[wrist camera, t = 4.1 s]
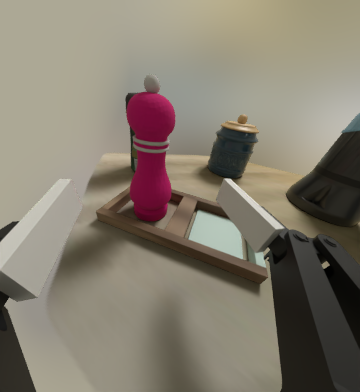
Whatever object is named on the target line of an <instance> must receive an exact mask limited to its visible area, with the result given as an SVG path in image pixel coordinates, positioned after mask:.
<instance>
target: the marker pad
mask: <svg viewBox="0 0 360 392" xmlns="http://www.w3.org/2000/svg"><path fill="white" fill-rule="evenodd" d="M188 239H189V240H192V241H194V242H197V243H200V244H203V245H205V246H208V247H211V248H213V249H216V250H219V251H221V252H224V253H227V254H230V255H232V256H235V257H238V258H240V259H243V254H242V241H241V233H240V232H239V230H238V229H237V227H236V226H235V225H234V223H233V222H232V221H231V220H229V219H226V218H223V217H220V216H217V215H214V214H211V213H208V212H204V211H201V210H198V212H197V215H196V218H195V221H194V224H193V227H192V229H191V232H190V235H189V238H188Z"/></svg>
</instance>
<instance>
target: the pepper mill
mask: <svg viewBox="0 0 360 392" xmlns="http://www.w3.org/2000/svg"><path fill="white" fill-rule="evenodd" d="M144 86H145V89H146V91H147V92H141V93H138V94H136V95H134V96H133V97H132V98H131V99H130V101H129V103H128V106H127V120H128V123H129V125H130V127H131V128H132V129H133V131H134V132H135V134H136V135H134V136H133V140H134V143H133V146H134V148H135V149H137V156H138V159H137V168H136V171H135V174H134V176H133V179H132V181H131V185H130V198H131V200H132V201H133V202H134V212H135V215H136V216H137V217H138V218H139V219H141V220H144V221H157V220H159V219H161V218H163V217H164V216H165V215H166V213H167V206H168V204H167V203H168V202H169V200H170V198H171V184H170V181H169V178H168V176H167V173H166V168H165V156H166V151H168V150H169V142H170V141H169V139H168V138H167V137H168V135H169V134H170V133H171V132H172V131H173V129H174V126H175V112H174V109H173V106H172V105H171V103H170V102H169V101H168V100H167V99H166V98H165V97H163V96H161V95H159V94H157V93H158V92H159V89H160V83H159V80H158V78H157V77H156V76H155V75H152V74H149V75H147V76H146V78H145V80H144Z"/></svg>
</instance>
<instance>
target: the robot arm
mask: <svg viewBox="0 0 360 392" xmlns="http://www.w3.org/2000/svg"><path fill="white" fill-rule="evenodd" d="M286 195H287V197H288V199H289V200H290V201H291V202H292V203H294V204H295V205H296V206H297V207H299V208H300V209H302V210H304V211H305V212H307V213H309V214H311V215H313V216H315V217H317V218H319V219H322V220H324V221H327V222H329V223H333V224H336V225H340V226H347V227H351V226H355V225H356V224H357V223H359V222H360V113H359V114H358V115H357V116H356V117H355V118H354V119H353V120H352V122H351V123H350V124H349V125H348V126H347V127H346V129H345V130H343V131H342V134H341V136H340V137H339V138H338V139H337V141H336V142H335V143H334V144H333V146H332V147H331V148H330V149H329V151H328V152H327V153H326V154H325V155H324V157H323V158H322V159H321V161H320V162H319V163H318V164H317V166H316V167H315V168H314V169H313V170H312V171H311V172H310V173H309V174H308V175H306V176H305V177H303V178H302V179H301V180H299V181H298V182H296V183H295V184H294V185H292V186H291V187H290V188H289V190H288V191H287V193H286ZM216 201H217V202H218V203H219V205H220V206H221V207H222V209H223V210H224V211H225V213H226V214H227V215H228V217H229V218H230V219H231V221H232V222H233V223H234V225H235V226H236V227H237V229H238V230H239V232H240V233H241V234H242V236H243V237H244V238H245V240H246V241H247V242H248V244H249V245H250V246H251V248H252V249H253V250H254V252H255V253H259V252H264V251H265V250H266V248H267V247H269V249H270V251H269V252H268V253H267V254H266V255H265V256H264V260H265V259H266V258H267V257H269V259H268V260H267V261H269V263H270V272H271V281H272V290H273V300H274V309H275V318H276V327H277V336H278V346H279V355H280V364H281V373H282V389H281V391H280V392H360V265H359V264H358V263H357V262H356V261H355V260H354V259H353V258H352V257H351V256H350V254H349V253H348V252H347V251H346V250H345V249H344V248H343V247H342V246H341V245H340V244H339V243H338V242H337V241H335V240H334V239H333V238H331V237H329V236H326V235H323V234H319V235H317V236H316V237H315V238H308V237H307V236H305V235H304V234H303V233H301V232H299V231H296V230H289V229H287V228H286V227H285V226H284V225H283V224H282V223H281V222H279V221H278V220H277V219H276V218H275V217H274V216H272V214H270V213H269V212H268V211H267V210H266V209H265V208H264V207H262V206H260V205H259V204H258V203H256V202H255V201H254V200H253V199H252V198H251V197H250V196H249V195H248V194H246V193H245V192H244V191H243V190H242V189H241V188H240V187H239V186H238V185H237V184H235V183H234V182H233V181H232V180H231V179H223V182H222V184H221V187H220V190H219V192H218V195H217V198H216ZM82 207H83V206H82V204H81V201H80V199H79V196H78V194H77V191H76V188H75V186H74V183H73V181H72V179H59V180H58V181H57V182H56V183H55V184H54V186H52V188H51V189H50V190H49V191H48V192H47V193H46V194H45V195H44V196H43V197H42V198H41V199H40V200H39V202H37V204H36V205H35V206H34V207H33V208H32V209H31V210H30V211H29V212H28V213H27V214H26V215H25V216H24V217H23V218H22V219H21V221H17V222H12V223H10V224H9V225H7V226H5V227H4V228H2V229H1V230H0V392H36V390H35V387H34V384H33V381H32V379H31V376H30V373H29V370H28V367H27V364H26V362H25V358H24V356H23V353H22V350H21V347H20V344H19V342H18V338H17V336H16V333H15V330H14V327H13V324H12V322H11V318H10V316H9V313H8V310H7V309H6V308H5V307H4V305H5V303H6V302H7V300H8V298H9V297H10V298H11V299H13V300H15V301H17V302H18V301H23V300H28V299H33V298H37V297H38V296H39V294H40V292H41V290H42V288H43V286H44V284H45V282H46V280H47V278H48V276H49V274H50V272H51V270H52V268H53V266H54V264H55V262H56V260H57V258H58V256H59V254H60V252H61V250H62V248H63V246H64V244H65V242H66V240H67V238H68V236H69V234H70V232H71V230H72V228H73V226H74V224H75V222H76V220H77V218H78V216H79V214H80V211H81V209H82ZM326 261H327V262H328V263H329V264H330V266H328V267H327V268H325V269H323V268H322V265H321V264H323V263H324V262H326Z"/></svg>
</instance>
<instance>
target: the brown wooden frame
mask: <svg viewBox="0 0 360 392" xmlns="http://www.w3.org/2000/svg"><path fill="white" fill-rule="evenodd" d="M130 200H131V198H130V187H128V188H127V189H126V190H124V191H123V192H122V193H120V194H119V195H118V196H116V197H115V198H114V199H112V200H111V201H110V202H108V203H107V204H105V205H104V206H103V207H101V208H100V209H99V210H97V211H96V214H97V217H98V220H99V221H102V222H104V223H107V224H109V225H112V226H114V227H117V228H119V229H122V230H124V231H127V232H130V233H132V234H135V235H137V236H140V237H142V238H145V239H147V240H150V241H152V242H155V243H157V244H160V245H163V246H165V247H168V248H170V249H173V250H175V251H178V252H180V253H183V254H185V255H188V256H190V257H193V258H196V259H198V260H201V261H203V262H206V263H208V264H211V265H213V266H216V267H218V268H221V269H223V270H226V271H228V272H231V273H234V274H236V275H239V276H241V277H244V278H246V279H249V280H251V281H254V282H256V283H259V284H261V283H262V282H263V281H264V280H266V279H267V278H268V274H267V269H266V265H265V260H264V256H263V252H259V253H255V252H254V250H253V249H252V248H251V246H250V245H249V244H248V242H247V250H248V259H249V261H246V260H243V259H240V258H238V257H235V256H232V255H230V254H227V253H224V252H221V251H219V250H216V249H213V248H211V247H208V246H205V245H203V244H200V243H197V242H194V241H192V240H189V239H186V238H184V237H185V234H186V232H187V229H188V226H189V224H190V221H191V218H192V216H193V213H194V210H195V208H198V209H201V210H205V211H208V212H211V213H214V214H217V215H220V216H223V217H227V218H229V217H228V215H227V214H226V213H225V211H224V210H223V209H222V207H221V206H220V205H219V203H216V202H212V201H209V200H206V199H202V198H199V197H196V196H193V195H189V194H186V193H183V192H179V191H176V190H173V189H171V198H170V200H173V201H176V202H179V203H180V204H179V206H178V208H177V209H176V211H175V213H174V215H173V216H172V218H171V220H170V222H169V224H168V225H167V227H166V229H165V230H162V229H159V228H157V227H154V226H151V225H148V224H146V223H143V222H140V221H138V220H135V219H132V218H130V217H127V216H124V215H121V214H119V213H116V212H117V211H118V210H120V209H121V208H122V207H123V206H124V205H125V204H126V203H128V202H129V201H130Z"/></svg>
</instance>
